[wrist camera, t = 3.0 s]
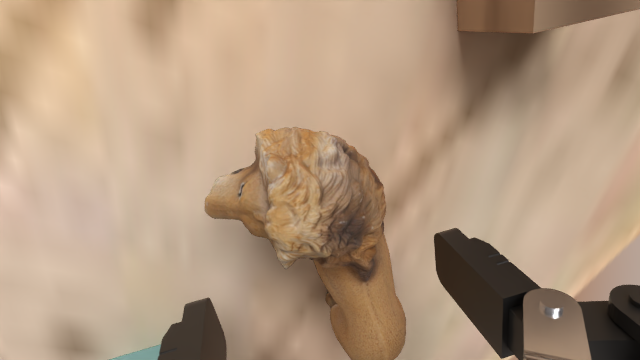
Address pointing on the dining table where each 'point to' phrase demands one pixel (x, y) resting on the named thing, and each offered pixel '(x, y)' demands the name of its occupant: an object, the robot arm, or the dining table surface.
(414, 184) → the dining table surface
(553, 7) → the walnut block
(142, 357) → the teal block
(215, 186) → the lion figurine
